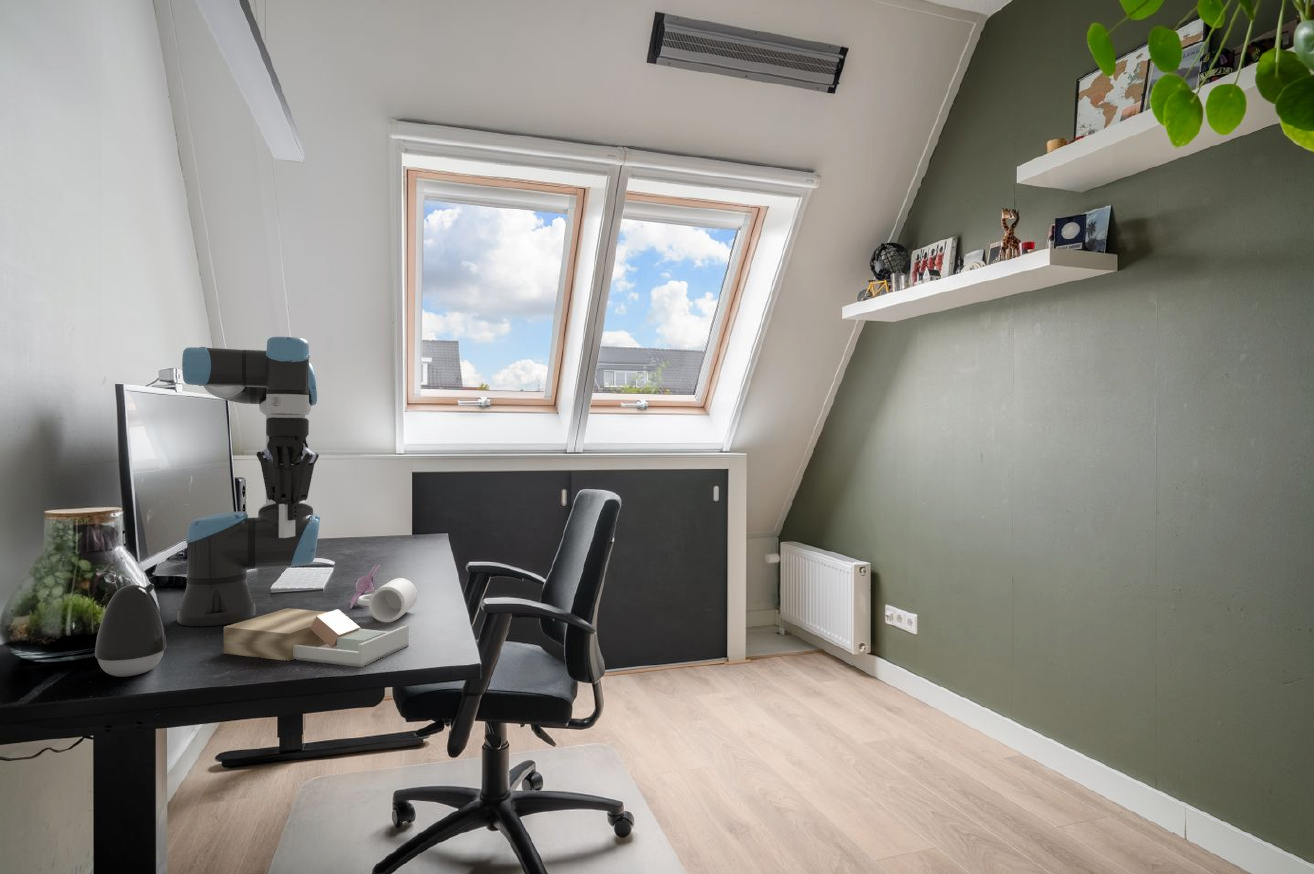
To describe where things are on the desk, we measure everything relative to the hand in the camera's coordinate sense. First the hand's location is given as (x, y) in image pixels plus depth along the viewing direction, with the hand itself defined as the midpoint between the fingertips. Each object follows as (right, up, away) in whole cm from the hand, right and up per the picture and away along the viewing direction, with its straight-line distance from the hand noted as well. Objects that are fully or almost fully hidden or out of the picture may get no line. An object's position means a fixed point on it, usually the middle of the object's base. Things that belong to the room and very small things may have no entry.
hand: (287, 536), depth 150 cm
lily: (+2, -21, +36) cm, 42 cm away
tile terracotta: (+10, -18, -3) cm, 21 cm away
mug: (+11, -22, +23) cm, 33 cm away
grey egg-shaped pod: (-19, -22, -17) cm, 33 cm away
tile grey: (+16, -18, -5) cm, 25 cm away
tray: (+15, -22, -5) cm, 26 cm away
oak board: (0, -21, 0) cm, 21 cm away
